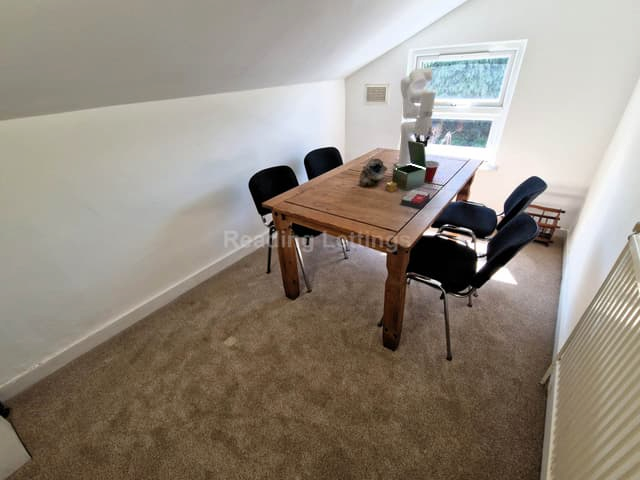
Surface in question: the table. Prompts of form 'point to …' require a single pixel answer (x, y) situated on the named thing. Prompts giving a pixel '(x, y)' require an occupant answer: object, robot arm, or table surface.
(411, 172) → the bin
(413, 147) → the bin lid
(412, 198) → the calculator
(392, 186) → the block
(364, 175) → the hollow geode rock
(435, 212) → the table surface
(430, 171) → the plastic cup
